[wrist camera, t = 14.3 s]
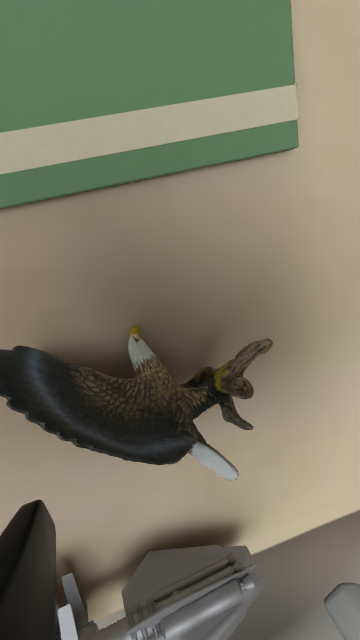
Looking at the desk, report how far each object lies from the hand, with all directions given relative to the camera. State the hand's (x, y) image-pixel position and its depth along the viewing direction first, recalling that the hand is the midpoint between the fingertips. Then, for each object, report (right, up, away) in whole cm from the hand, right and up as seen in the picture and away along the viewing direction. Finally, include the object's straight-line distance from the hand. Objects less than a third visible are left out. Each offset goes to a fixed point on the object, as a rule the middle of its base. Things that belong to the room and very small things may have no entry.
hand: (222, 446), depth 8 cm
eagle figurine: (-4, +1, +7) cm, 8 cm away
